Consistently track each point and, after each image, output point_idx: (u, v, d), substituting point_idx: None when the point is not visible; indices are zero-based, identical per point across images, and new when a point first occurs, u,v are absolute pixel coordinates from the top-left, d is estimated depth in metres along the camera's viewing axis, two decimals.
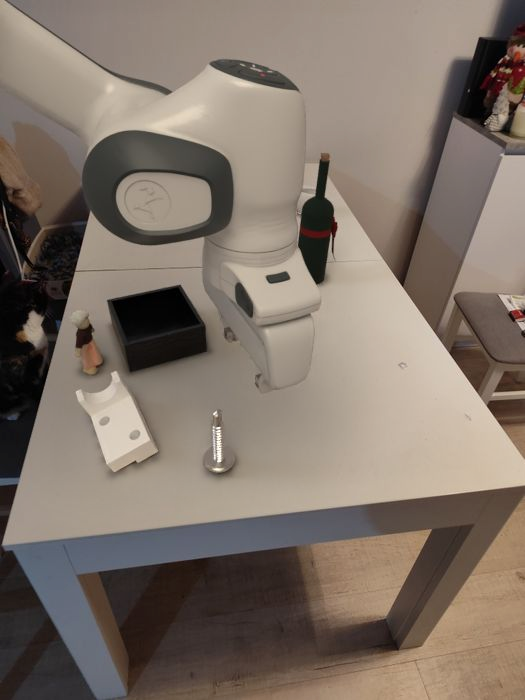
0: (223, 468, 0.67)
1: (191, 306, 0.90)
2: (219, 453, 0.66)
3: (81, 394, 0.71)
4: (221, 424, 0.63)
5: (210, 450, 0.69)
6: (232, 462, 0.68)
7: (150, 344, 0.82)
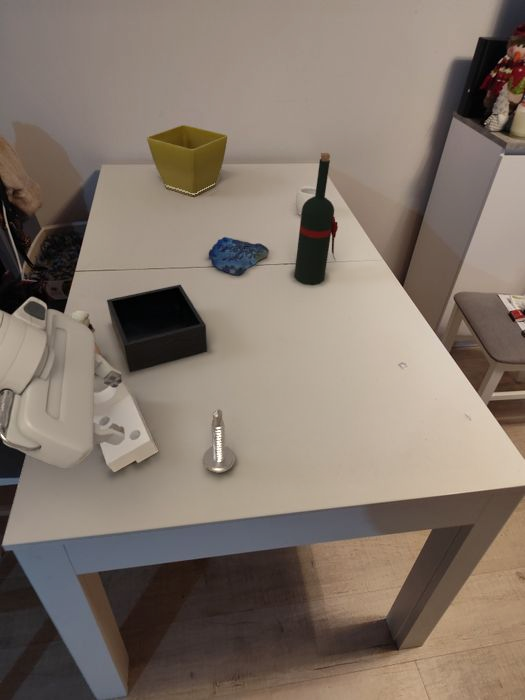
0: (223, 468, 0.67)
1: (191, 306, 0.90)
2: (219, 453, 0.66)
3: None
4: (221, 424, 0.63)
5: (210, 450, 0.69)
6: (232, 462, 0.68)
7: (150, 344, 0.82)
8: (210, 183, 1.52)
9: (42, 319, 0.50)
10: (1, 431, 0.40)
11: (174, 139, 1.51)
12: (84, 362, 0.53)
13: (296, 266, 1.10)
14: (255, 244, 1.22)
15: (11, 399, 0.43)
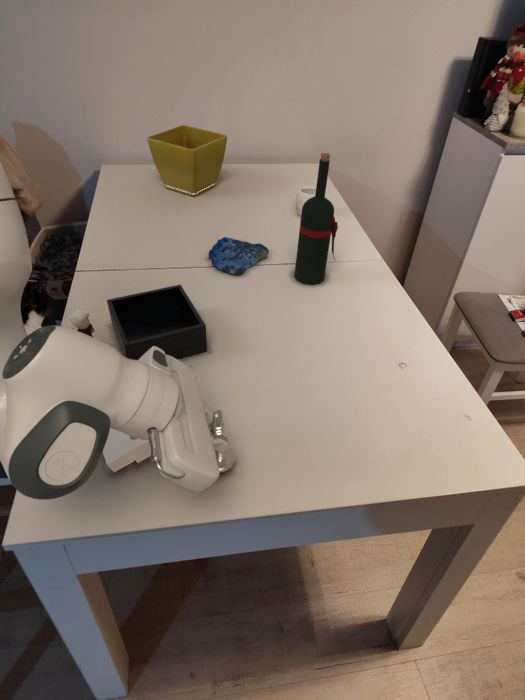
0: (223, 468, 0.67)
1: (191, 306, 0.90)
2: (219, 453, 0.66)
3: None
4: (221, 424, 0.63)
5: None
6: (232, 462, 0.68)
7: (150, 344, 0.82)
8: (210, 183, 1.52)
9: (166, 366, 0.59)
10: (159, 464, 0.50)
11: (174, 139, 1.51)
12: (196, 399, 0.63)
13: (296, 266, 1.10)
14: (255, 244, 1.22)
15: (158, 436, 0.53)
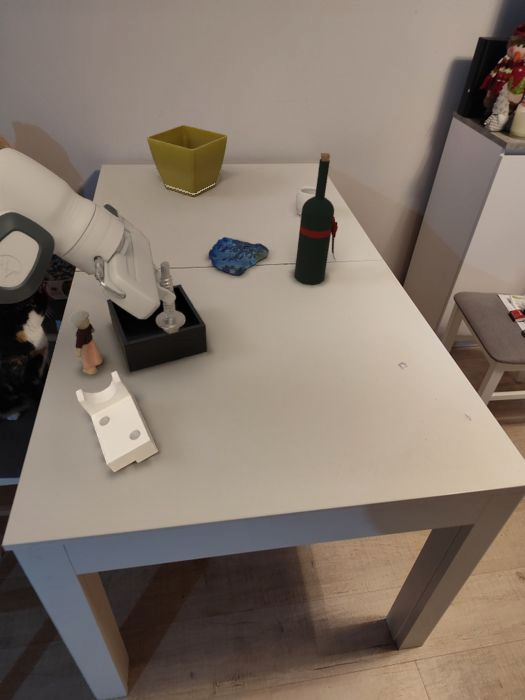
0: (173, 325, 0.73)
1: (191, 306, 0.90)
2: (169, 311, 0.72)
3: (81, 394, 0.71)
4: (169, 277, 0.68)
5: (163, 313, 0.75)
6: (182, 322, 0.74)
7: (150, 344, 0.82)
8: (210, 183, 1.52)
9: (117, 216, 0.65)
10: (100, 279, 0.56)
11: (174, 139, 1.51)
12: (146, 254, 0.69)
13: (296, 266, 1.10)
14: (255, 244, 1.22)
15: (103, 263, 0.59)
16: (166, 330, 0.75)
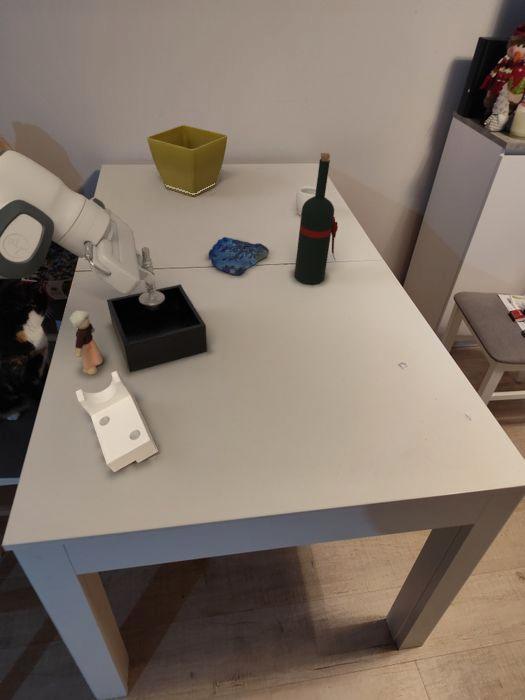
0: (154, 303, 0.84)
1: (191, 306, 0.90)
2: (150, 290, 0.84)
3: (81, 394, 0.71)
4: (149, 260, 0.80)
5: (145, 293, 0.86)
6: (162, 300, 0.85)
7: (150, 344, 0.82)
8: (210, 183, 1.52)
9: (104, 208, 0.77)
10: (89, 259, 0.68)
11: (174, 139, 1.51)
12: (129, 241, 0.80)
13: (296, 266, 1.10)
14: (255, 244, 1.22)
15: (91, 246, 0.70)
16: (148, 308, 0.86)
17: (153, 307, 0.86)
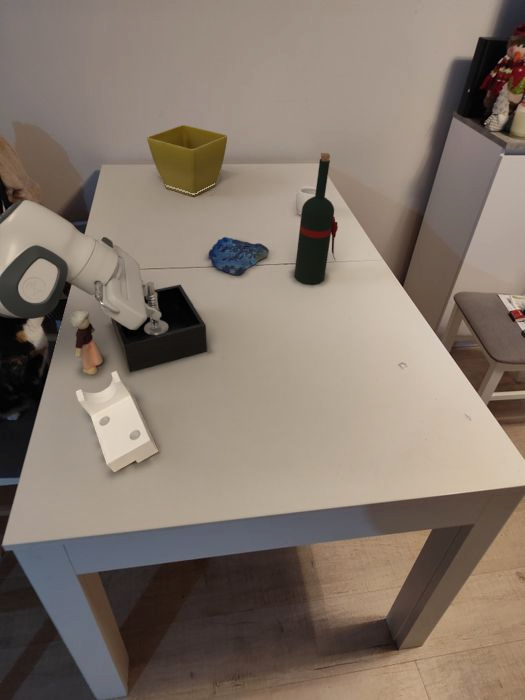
0: (158, 333, 0.89)
1: (191, 306, 0.90)
2: (155, 321, 0.88)
3: (81, 394, 0.71)
4: (153, 293, 0.85)
5: (150, 322, 0.91)
6: (166, 330, 0.90)
7: (150, 344, 0.82)
8: (210, 183, 1.52)
9: (112, 247, 0.82)
10: (100, 299, 0.72)
11: (174, 139, 1.51)
12: (136, 276, 0.85)
13: (296, 266, 1.10)
14: (255, 244, 1.22)
15: (101, 286, 0.75)
16: None
17: None
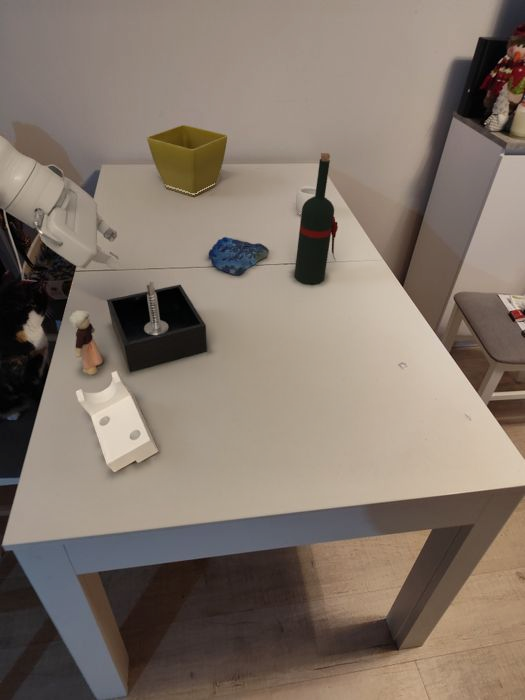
0: (158, 333, 0.89)
1: (191, 306, 0.90)
2: (155, 321, 0.88)
3: (81, 394, 0.71)
4: (153, 293, 0.85)
5: (150, 322, 0.91)
6: (166, 330, 0.90)
7: (150, 344, 0.82)
8: (210, 183, 1.52)
9: (61, 176, 0.71)
10: (37, 226, 0.62)
11: (174, 139, 1.51)
12: (90, 213, 0.74)
13: (296, 266, 1.10)
14: (255, 244, 1.22)
15: (42, 214, 0.65)
16: None
17: None
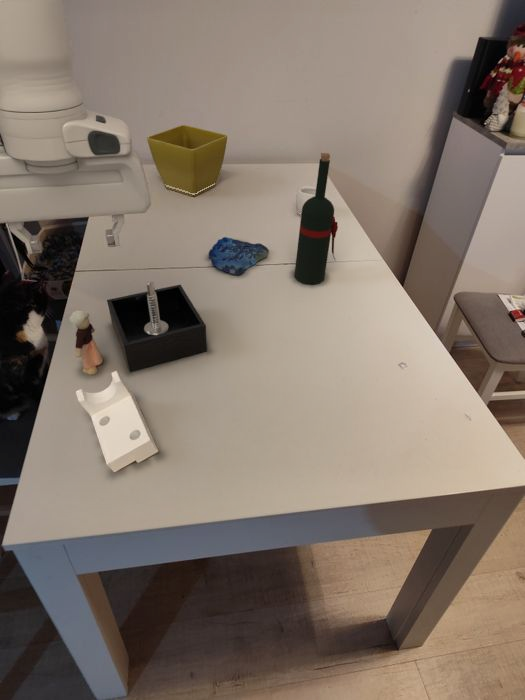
0: (158, 333, 0.89)
1: (191, 306, 0.90)
2: (155, 321, 0.88)
3: (81, 394, 0.71)
4: (153, 293, 0.85)
5: (150, 322, 0.91)
6: (166, 330, 0.90)
7: (150, 344, 0.82)
8: (210, 183, 1.52)
9: (92, 152, 0.47)
10: None
11: (174, 139, 1.51)
12: (88, 205, 0.52)
13: (296, 266, 1.10)
14: (255, 244, 1.22)
15: None
16: None
17: None
